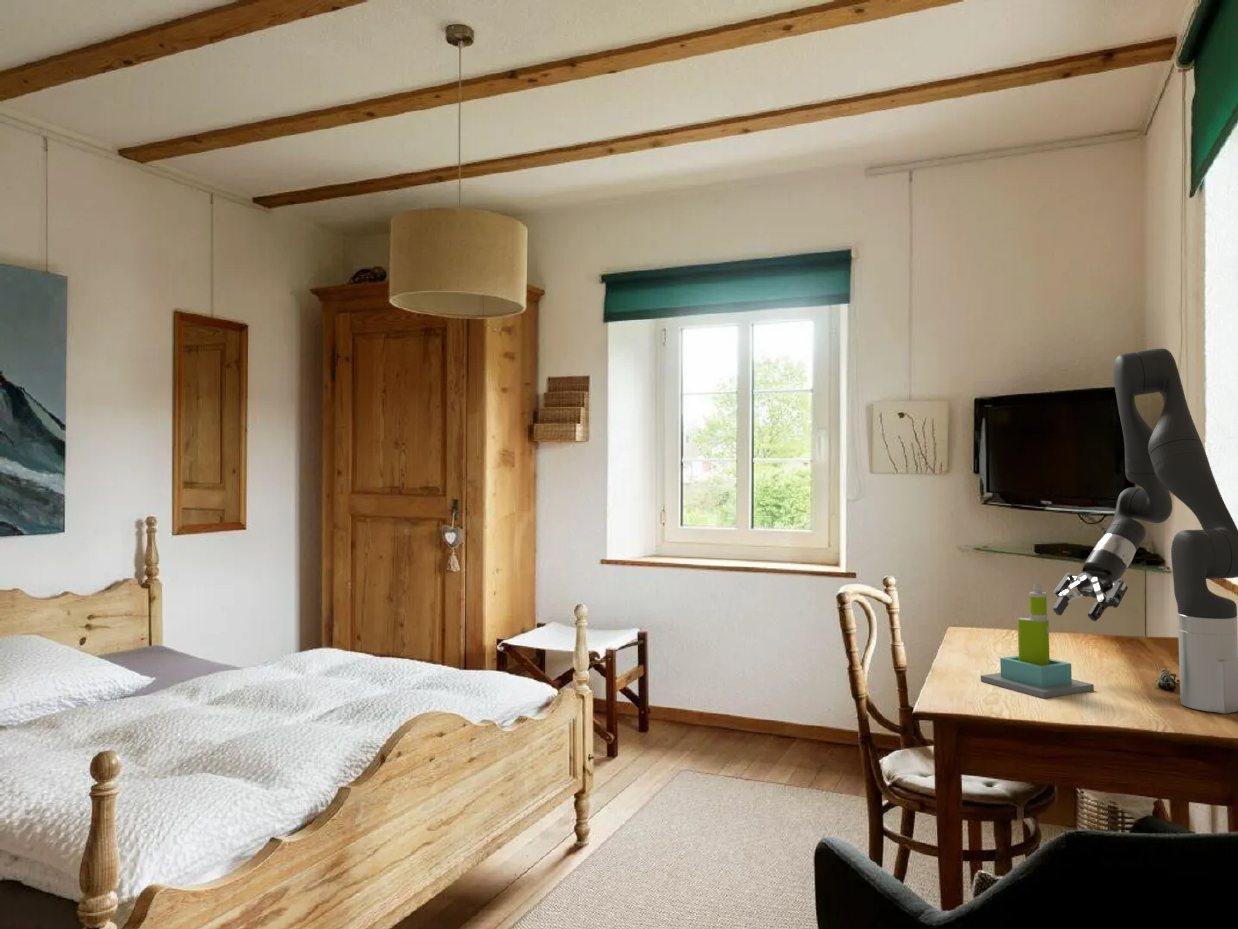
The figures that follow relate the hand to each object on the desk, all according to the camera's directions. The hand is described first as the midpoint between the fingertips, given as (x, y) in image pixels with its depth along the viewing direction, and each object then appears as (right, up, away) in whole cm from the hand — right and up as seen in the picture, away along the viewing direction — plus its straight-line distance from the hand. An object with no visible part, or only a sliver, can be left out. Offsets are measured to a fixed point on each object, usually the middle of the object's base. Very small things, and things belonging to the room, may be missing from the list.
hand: (1073, 615), depth 183 cm
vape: (-10, -13, -4) cm, 17 cm away
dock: (-10, -14, -5) cm, 18 cm away
